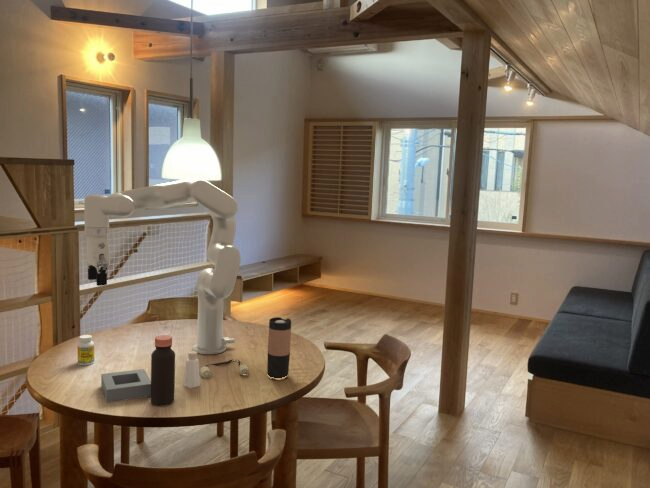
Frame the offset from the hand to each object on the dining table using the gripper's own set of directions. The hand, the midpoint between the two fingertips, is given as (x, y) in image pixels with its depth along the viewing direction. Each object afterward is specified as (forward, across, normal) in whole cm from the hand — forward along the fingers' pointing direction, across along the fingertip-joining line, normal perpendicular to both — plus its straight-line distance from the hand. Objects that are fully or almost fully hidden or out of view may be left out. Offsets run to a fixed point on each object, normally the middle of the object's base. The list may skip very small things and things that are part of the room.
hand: (97, 282), depth 186 cm
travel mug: (+30, -39, -48) cm, 69 cm away
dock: (+30, -25, -1) cm, 39 cm away
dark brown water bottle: (+30, -38, -8) cm, 49 cm away
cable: (+31, -24, -35) cm, 52 cm away
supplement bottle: (+30, +5, +3) cm, 30 cm away
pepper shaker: (+30, -31, -20) cm, 48 cm away
